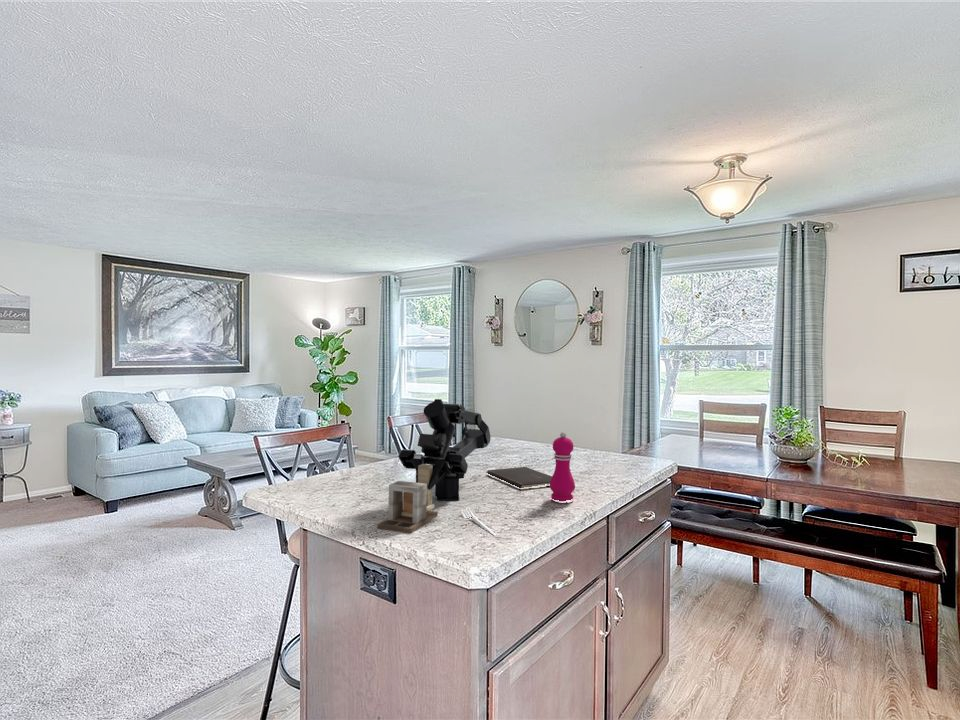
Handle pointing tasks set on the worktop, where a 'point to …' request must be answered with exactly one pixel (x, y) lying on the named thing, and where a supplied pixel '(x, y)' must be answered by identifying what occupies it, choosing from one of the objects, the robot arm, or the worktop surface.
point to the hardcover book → (521, 476)
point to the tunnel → (396, 508)
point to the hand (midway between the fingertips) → (422, 488)
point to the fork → (475, 520)
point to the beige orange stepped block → (423, 477)
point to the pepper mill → (562, 469)
